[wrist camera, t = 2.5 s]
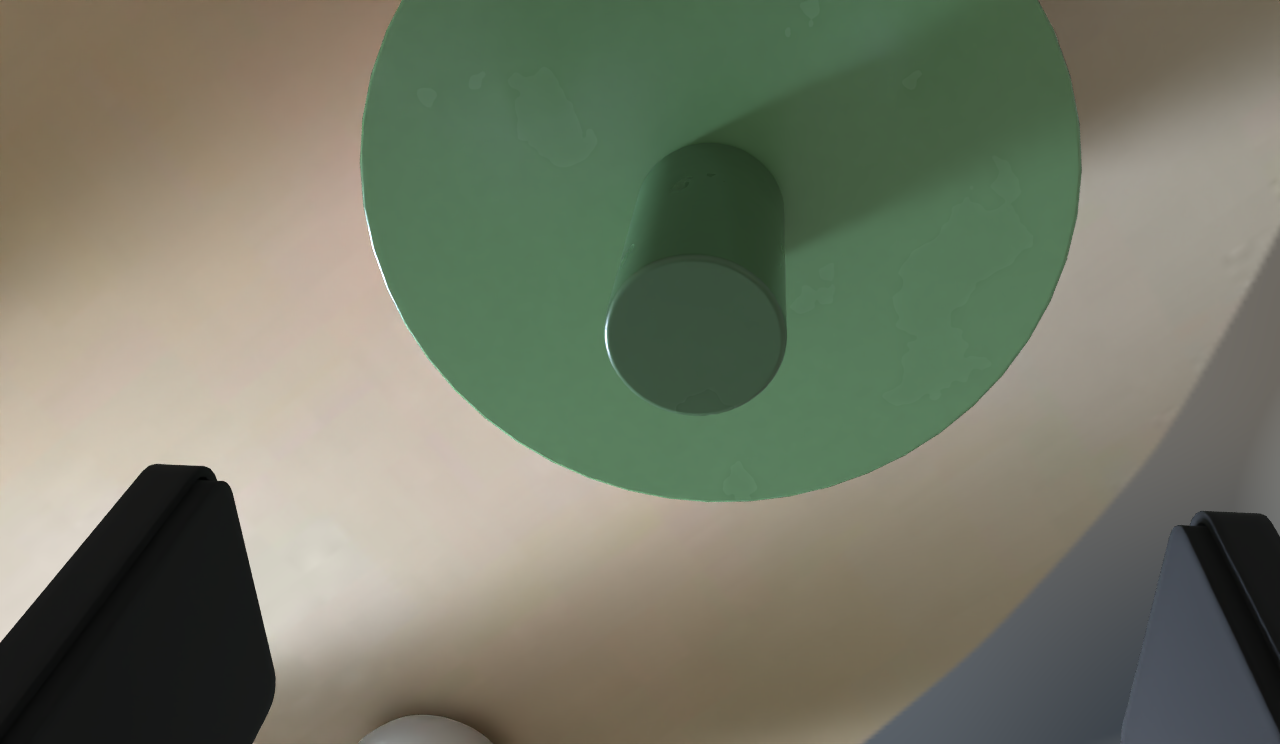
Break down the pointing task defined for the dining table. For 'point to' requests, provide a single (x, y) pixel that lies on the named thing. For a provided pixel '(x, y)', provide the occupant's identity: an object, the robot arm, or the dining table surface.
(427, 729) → the plastic bottle
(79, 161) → the dining table surface
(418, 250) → the lid
